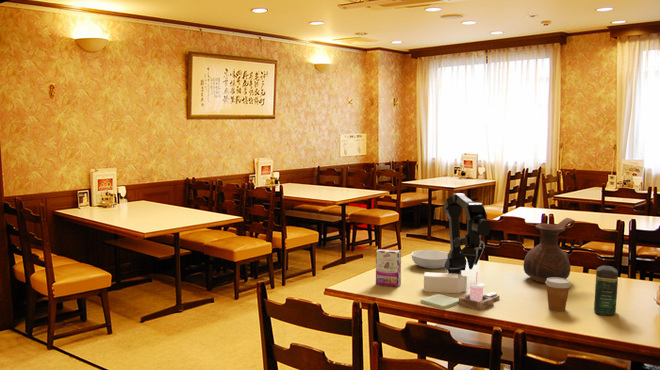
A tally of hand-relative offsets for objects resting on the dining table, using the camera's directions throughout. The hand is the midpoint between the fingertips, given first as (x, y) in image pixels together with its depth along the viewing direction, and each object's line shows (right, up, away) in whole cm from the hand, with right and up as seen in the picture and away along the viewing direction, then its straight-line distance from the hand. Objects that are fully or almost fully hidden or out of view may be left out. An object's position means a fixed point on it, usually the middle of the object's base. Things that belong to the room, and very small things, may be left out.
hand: (473, 266), depth 242 cm
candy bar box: (-35, -11, +19) cm, 41 cm away
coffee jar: (+47, -15, -21) cm, 54 cm away
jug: (+42, -11, +26) cm, 51 cm away
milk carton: (-20, -8, +11) cm, 24 cm away
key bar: (+6, -13, -4) cm, 15 cm away
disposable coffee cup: (+30, -15, -17) cm, 37 cm away
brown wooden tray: (+2, -14, -9) cm, 16 cm away
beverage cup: (-2, -14, -12) cm, 19 cm away
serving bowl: (-9, -8, +52) cm, 53 cm away
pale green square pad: (-16, -14, -8) cm, 23 cm away
